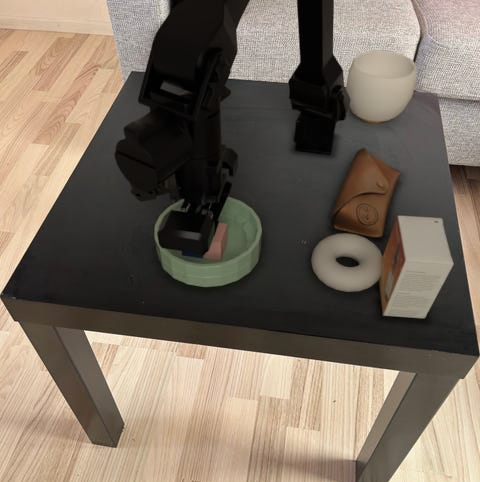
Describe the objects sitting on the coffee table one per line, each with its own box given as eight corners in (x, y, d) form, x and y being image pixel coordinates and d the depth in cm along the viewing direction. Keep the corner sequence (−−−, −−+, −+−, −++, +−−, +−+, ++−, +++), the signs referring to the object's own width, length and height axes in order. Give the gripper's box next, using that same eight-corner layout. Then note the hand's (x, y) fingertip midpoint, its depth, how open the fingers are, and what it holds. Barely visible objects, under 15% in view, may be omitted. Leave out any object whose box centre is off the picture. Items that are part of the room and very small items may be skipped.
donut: (371, 306, 64) (387, 256, 69) (377, 290, 61) (394, 239, 66) (300, 284, 66) (321, 237, 71) (302, 267, 63) (324, 220, 69)
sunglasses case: (385, 238, 71) (371, 202, 67) (341, 246, 75) (325, 213, 71) (402, 170, 81) (391, 135, 77) (362, 180, 85) (350, 148, 81)
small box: (376, 272, 67) (396, 213, 59) (417, 274, 67) (442, 216, 58) (381, 317, 62) (404, 260, 54) (425, 320, 62) (454, 263, 54)
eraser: (227, 241, 70) (227, 223, 67) (221, 261, 68) (220, 242, 65) (188, 236, 71) (185, 217, 68) (180, 255, 68) (177, 236, 66)
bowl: (268, 225, 73) (269, 201, 70) (249, 297, 64) (250, 274, 61) (175, 212, 75) (172, 188, 71) (145, 280, 66) (139, 257, 63)
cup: (411, 133, 89) (427, 81, 81) (345, 132, 89) (355, 80, 81) (398, 99, 96) (412, 49, 89) (337, 99, 97) (345, 48, 89)
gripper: (155, 99, 63) (169, 196, 75) (103, 184, 51) (129, 282, 64) (238, 108, 61) (238, 205, 74) (203, 198, 50) (210, 295, 63)
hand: (204, 243), depth 68 cm, fingers closed on eraser, 4 cm apart
